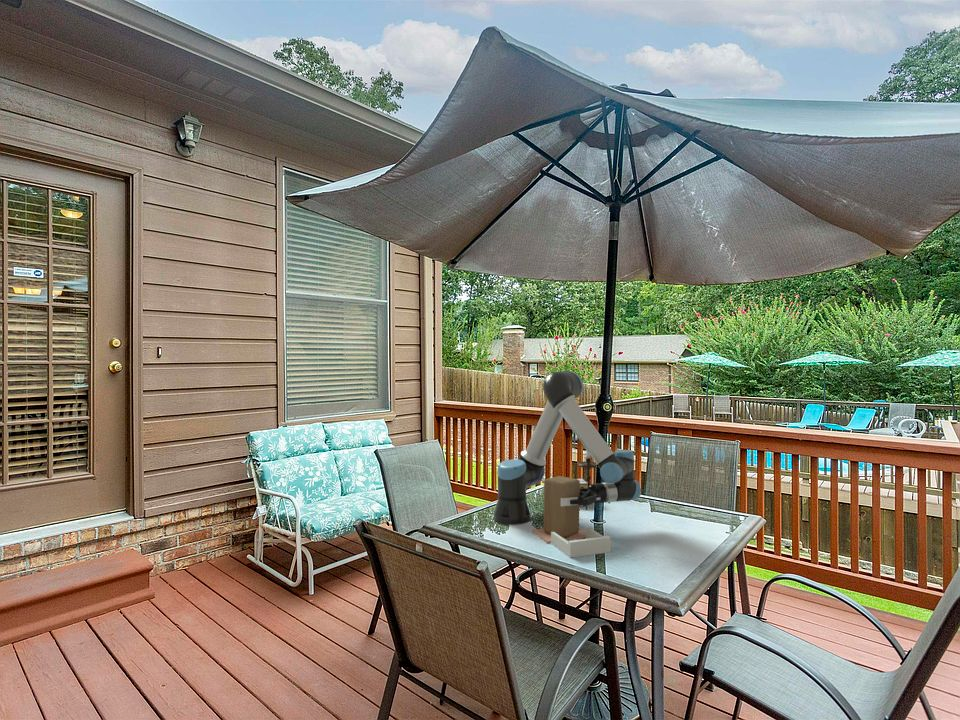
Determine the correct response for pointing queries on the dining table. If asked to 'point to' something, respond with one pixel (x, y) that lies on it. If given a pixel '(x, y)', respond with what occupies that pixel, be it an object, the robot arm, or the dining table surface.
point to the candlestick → (587, 466)
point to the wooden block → (558, 516)
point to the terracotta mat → (547, 537)
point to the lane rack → (583, 544)
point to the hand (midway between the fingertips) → (552, 497)
